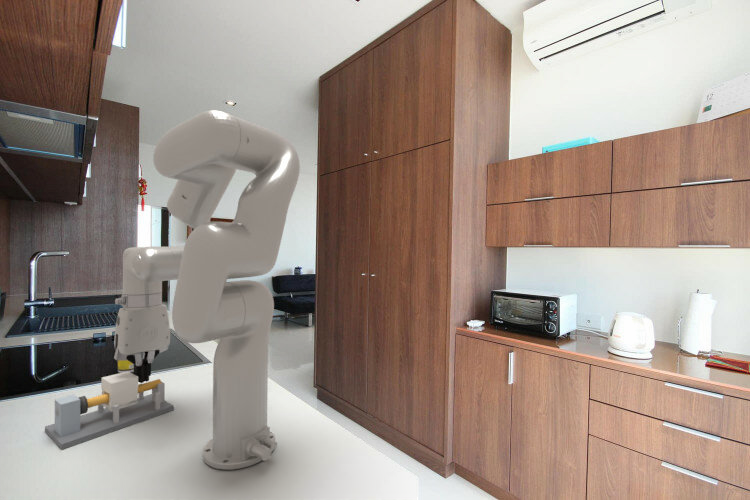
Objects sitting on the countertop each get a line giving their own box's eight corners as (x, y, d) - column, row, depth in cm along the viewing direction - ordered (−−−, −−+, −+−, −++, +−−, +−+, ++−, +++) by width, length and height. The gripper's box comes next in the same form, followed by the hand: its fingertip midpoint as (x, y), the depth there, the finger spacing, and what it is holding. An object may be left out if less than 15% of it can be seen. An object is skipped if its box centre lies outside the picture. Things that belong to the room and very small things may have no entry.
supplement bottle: (121, 368, 109) (121, 336, 109) (141, 366, 111) (142, 335, 111) (114, 374, 104) (114, 341, 104) (135, 372, 106) (136, 339, 106)
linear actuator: (152, 397, 88) (152, 368, 88) (173, 409, 82) (174, 378, 82) (44, 431, 72) (45, 396, 72) (61, 449, 66) (61, 411, 66)
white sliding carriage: (127, 396, 82) (127, 371, 82) (138, 403, 78) (138, 376, 78) (101, 404, 78) (101, 377, 78) (111, 411, 74) (111, 383, 74)
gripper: (110, 307, 73) (109, 395, 73) (184, 298, 85) (183, 375, 85) (97, 303, 78) (96, 387, 78) (169, 296, 90) (169, 368, 90)
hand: (142, 380), depth 82 cm, fingers closed
